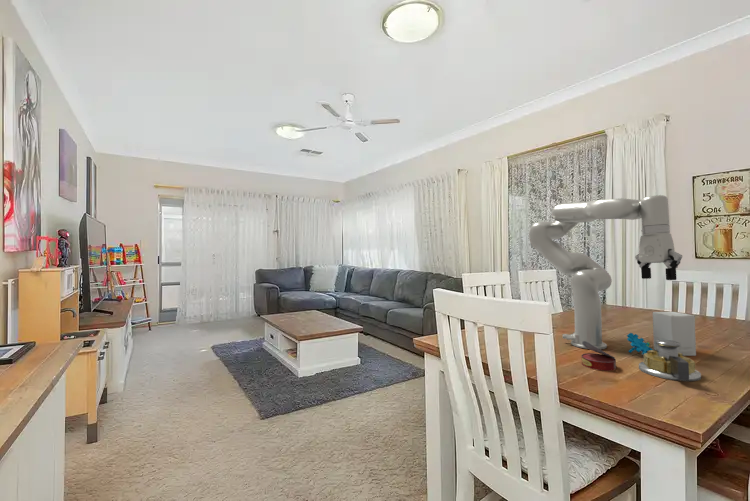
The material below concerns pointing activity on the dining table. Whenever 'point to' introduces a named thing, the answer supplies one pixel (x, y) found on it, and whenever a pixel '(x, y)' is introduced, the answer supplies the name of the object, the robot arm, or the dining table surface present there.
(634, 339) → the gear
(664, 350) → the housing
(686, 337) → the supplement box
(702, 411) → the dining table surface
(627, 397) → the dining table surface
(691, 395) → the dining table surface
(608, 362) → the canned food
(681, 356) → the ring nut
